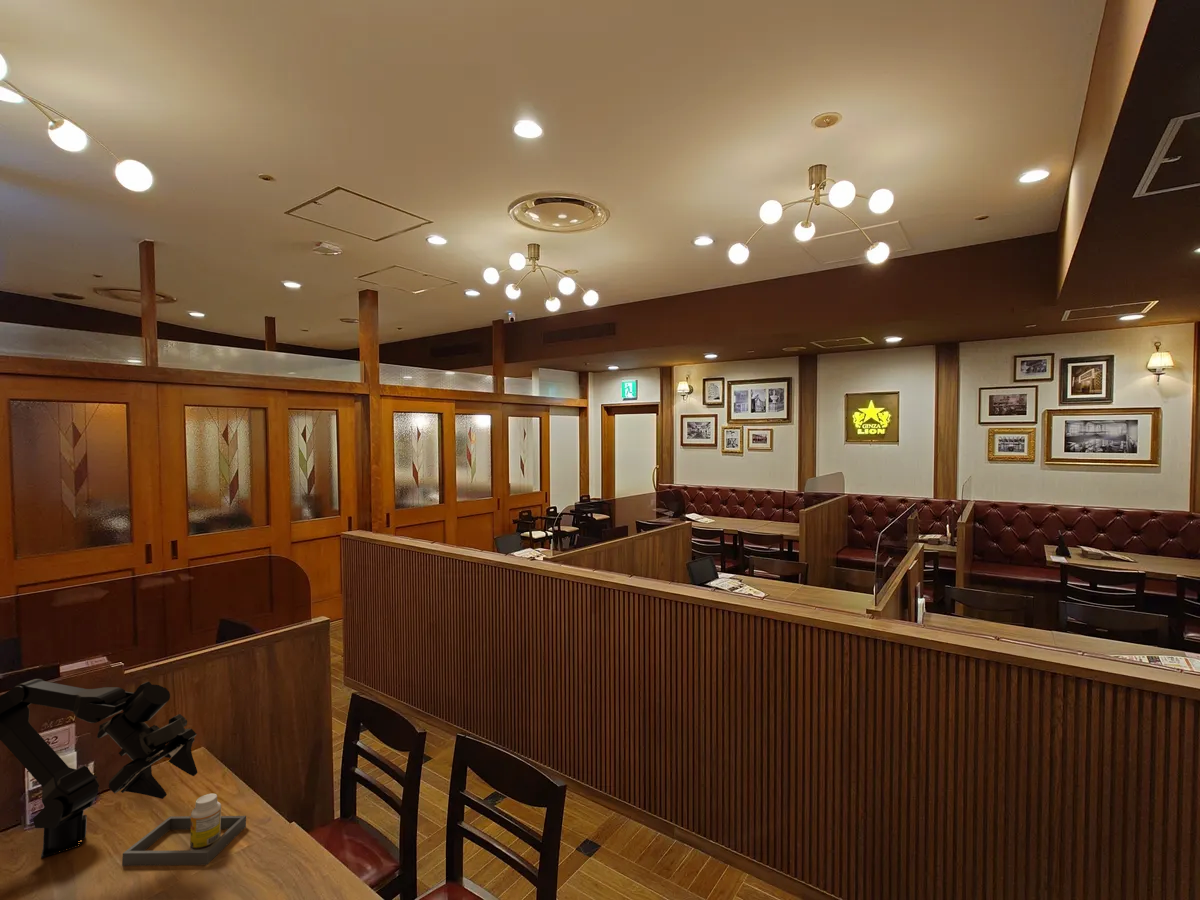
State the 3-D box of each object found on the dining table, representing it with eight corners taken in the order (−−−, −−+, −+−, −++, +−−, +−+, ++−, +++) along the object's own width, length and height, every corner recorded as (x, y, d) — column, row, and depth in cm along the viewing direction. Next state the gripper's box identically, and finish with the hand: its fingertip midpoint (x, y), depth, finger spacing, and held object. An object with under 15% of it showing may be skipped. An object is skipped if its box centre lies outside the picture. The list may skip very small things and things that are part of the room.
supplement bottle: (195, 840, 126) (197, 793, 127) (223, 835, 128) (225, 789, 128) (185, 855, 121) (186, 807, 121) (215, 850, 122) (216, 802, 123)
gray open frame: (122, 865, 118) (122, 853, 118) (169, 827, 131) (170, 816, 131) (206, 864, 118) (207, 852, 118) (245, 826, 131) (246, 815, 131)
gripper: (124, 727, 117) (175, 781, 116) (190, 693, 135) (234, 739, 135) (85, 766, 116) (136, 820, 116) (156, 727, 135) (200, 773, 134)
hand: (180, 785), depth 125 cm, fingers open, 9 cm apart
